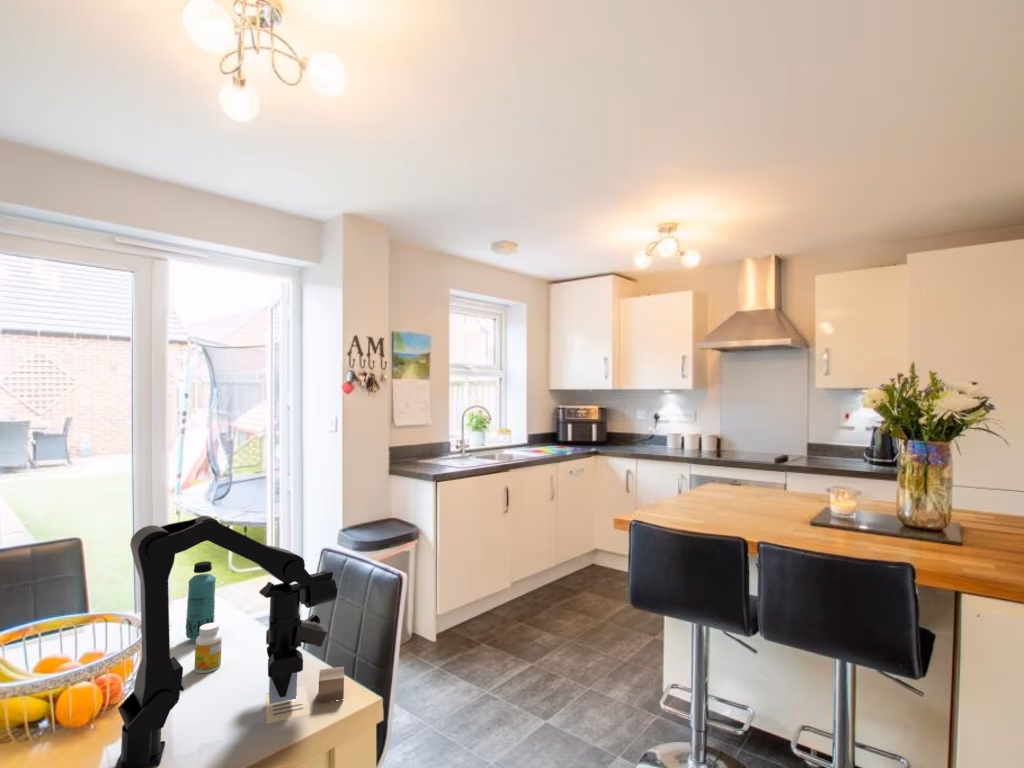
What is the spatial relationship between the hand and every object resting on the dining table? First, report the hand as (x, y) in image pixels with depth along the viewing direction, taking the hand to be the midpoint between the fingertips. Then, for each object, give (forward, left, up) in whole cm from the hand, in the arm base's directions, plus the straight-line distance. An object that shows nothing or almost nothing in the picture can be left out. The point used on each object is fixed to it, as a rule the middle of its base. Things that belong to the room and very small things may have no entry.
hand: (282, 690), depth 110 cm
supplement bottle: (+24, +15, -3) cm, 28 cm away
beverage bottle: (+42, +18, -3) cm, 46 cm away
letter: (0, -1, -3) cm, 3 cm away
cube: (0, 0, -1) cm, 1 cm away
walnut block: (-1, -10, -3) cm, 10 cm away
